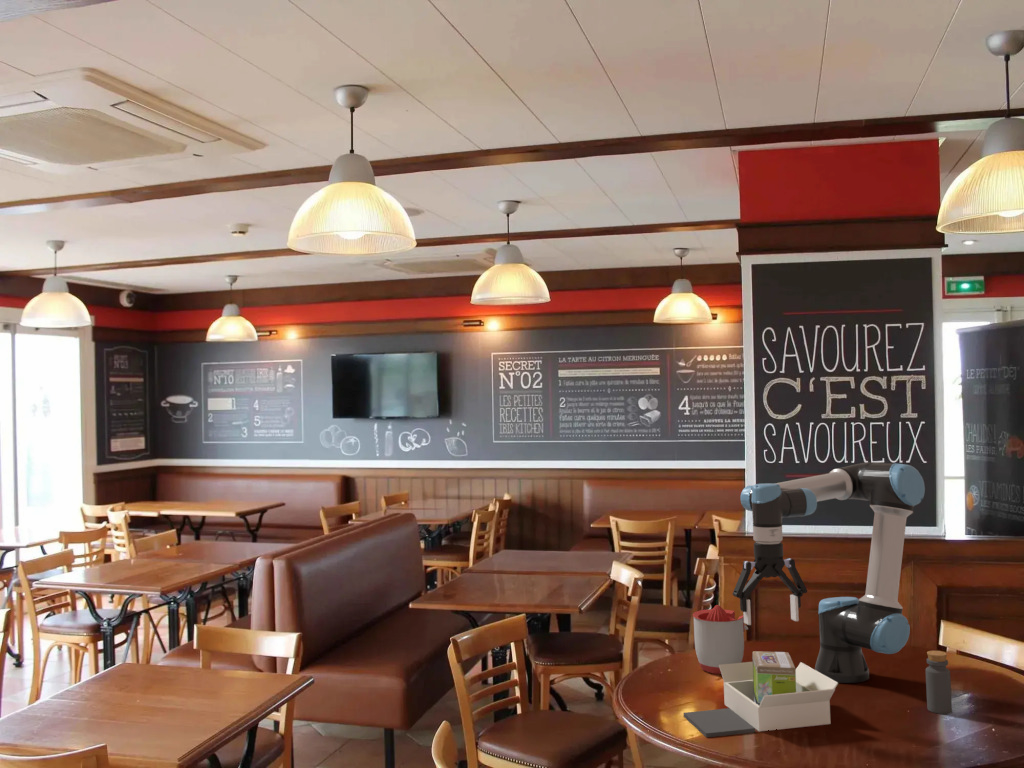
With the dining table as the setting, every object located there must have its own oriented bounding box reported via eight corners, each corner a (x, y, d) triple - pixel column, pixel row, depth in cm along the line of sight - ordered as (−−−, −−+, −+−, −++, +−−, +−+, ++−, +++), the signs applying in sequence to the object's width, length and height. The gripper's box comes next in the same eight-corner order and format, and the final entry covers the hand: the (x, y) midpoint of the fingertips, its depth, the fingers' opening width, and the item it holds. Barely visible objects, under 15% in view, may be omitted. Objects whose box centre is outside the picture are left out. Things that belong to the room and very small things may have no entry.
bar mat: (729, 711, 227) (729, 708, 227) (755, 732, 213) (754, 728, 213) (683, 716, 225) (683, 712, 225) (706, 737, 210) (706, 733, 210)
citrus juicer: (760, 673, 259) (758, 607, 260) (708, 679, 255) (705, 612, 256) (735, 659, 274) (733, 597, 275) (686, 664, 270) (683, 601, 271)
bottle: (950, 707, 225) (947, 650, 226) (953, 715, 220) (950, 656, 220) (925, 705, 227) (923, 649, 228) (929, 713, 222) (926, 655, 222)
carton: (795, 692, 241) (793, 657, 241) (849, 727, 214) (847, 687, 214) (719, 700, 237) (718, 664, 237) (765, 736, 210) (763, 695, 210)
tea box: (798, 725, 216) (796, 667, 217) (758, 723, 218) (755, 665, 219) (791, 705, 231) (788, 650, 232) (753, 703, 233) (751, 649, 234)
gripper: (730, 546, 221) (733, 628, 220) (818, 541, 225) (821, 621, 224) (718, 542, 228) (721, 621, 227) (803, 537, 232) (807, 615, 232)
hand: (771, 622), depth 226 cm, fingers open, 13 cm apart
